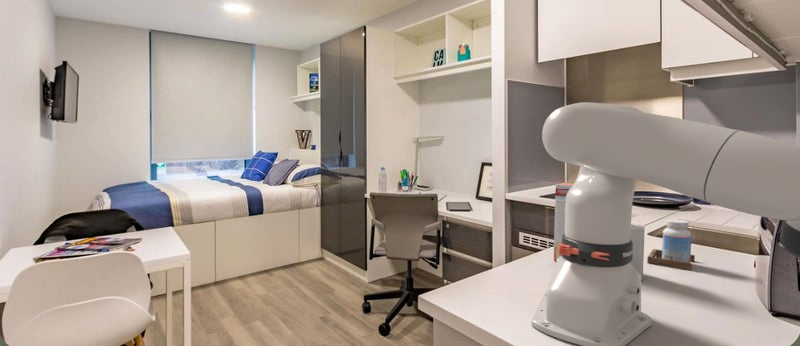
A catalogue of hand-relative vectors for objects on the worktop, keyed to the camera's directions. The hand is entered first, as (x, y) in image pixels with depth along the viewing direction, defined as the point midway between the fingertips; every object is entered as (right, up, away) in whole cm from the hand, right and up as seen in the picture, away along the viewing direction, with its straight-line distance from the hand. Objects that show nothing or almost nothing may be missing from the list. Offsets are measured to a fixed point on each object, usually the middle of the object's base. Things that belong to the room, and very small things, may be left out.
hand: (760, 170), depth 92 cm
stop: (-12, -24, +12) cm, 30 cm away
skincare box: (-29, -25, +2) cm, 38 cm away
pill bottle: (-12, -24, +11) cm, 29 cm away
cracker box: (-36, -25, +10) cm, 45 cm away
